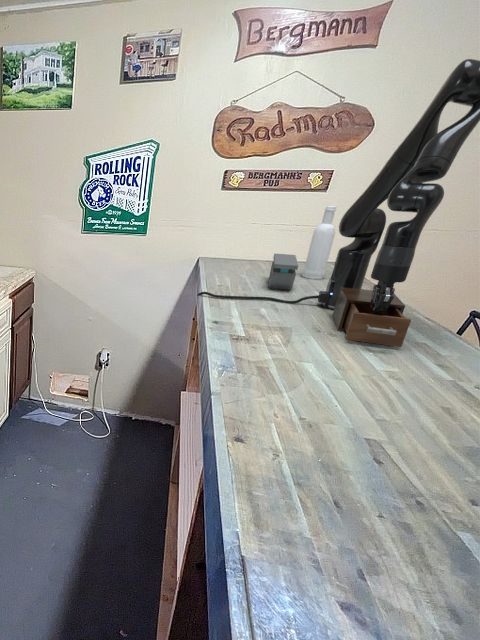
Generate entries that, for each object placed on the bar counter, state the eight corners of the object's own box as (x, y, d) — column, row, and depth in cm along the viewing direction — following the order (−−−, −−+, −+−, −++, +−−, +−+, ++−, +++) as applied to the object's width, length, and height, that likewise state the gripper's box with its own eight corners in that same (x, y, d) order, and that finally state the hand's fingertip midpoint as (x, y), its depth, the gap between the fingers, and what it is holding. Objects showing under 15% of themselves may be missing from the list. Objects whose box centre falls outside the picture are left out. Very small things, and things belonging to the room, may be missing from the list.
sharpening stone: (291, 293, 177) (298, 265, 173) (268, 291, 181) (274, 263, 176) (289, 280, 197) (295, 255, 193) (268, 278, 201) (274, 253, 197)
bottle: (320, 275, 205) (339, 205, 193) (325, 279, 198) (345, 207, 186) (299, 274, 207) (317, 205, 195) (304, 278, 200) (322, 206, 188)
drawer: (405, 353, 120) (415, 324, 117) (347, 344, 125) (356, 317, 122) (389, 330, 136) (398, 304, 133) (339, 323, 141) (346, 299, 138)
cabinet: (394, 337, 133) (405, 305, 129) (337, 330, 139) (347, 299, 135) (383, 321, 146) (393, 292, 142) (332, 315, 152) (340, 287, 148)
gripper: (417, 268, 116) (394, 332, 123) (405, 259, 127) (384, 318, 134) (380, 265, 119) (359, 328, 126) (371, 256, 130) (353, 314, 137)
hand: (372, 323), depth 130 cm, fingers closed
